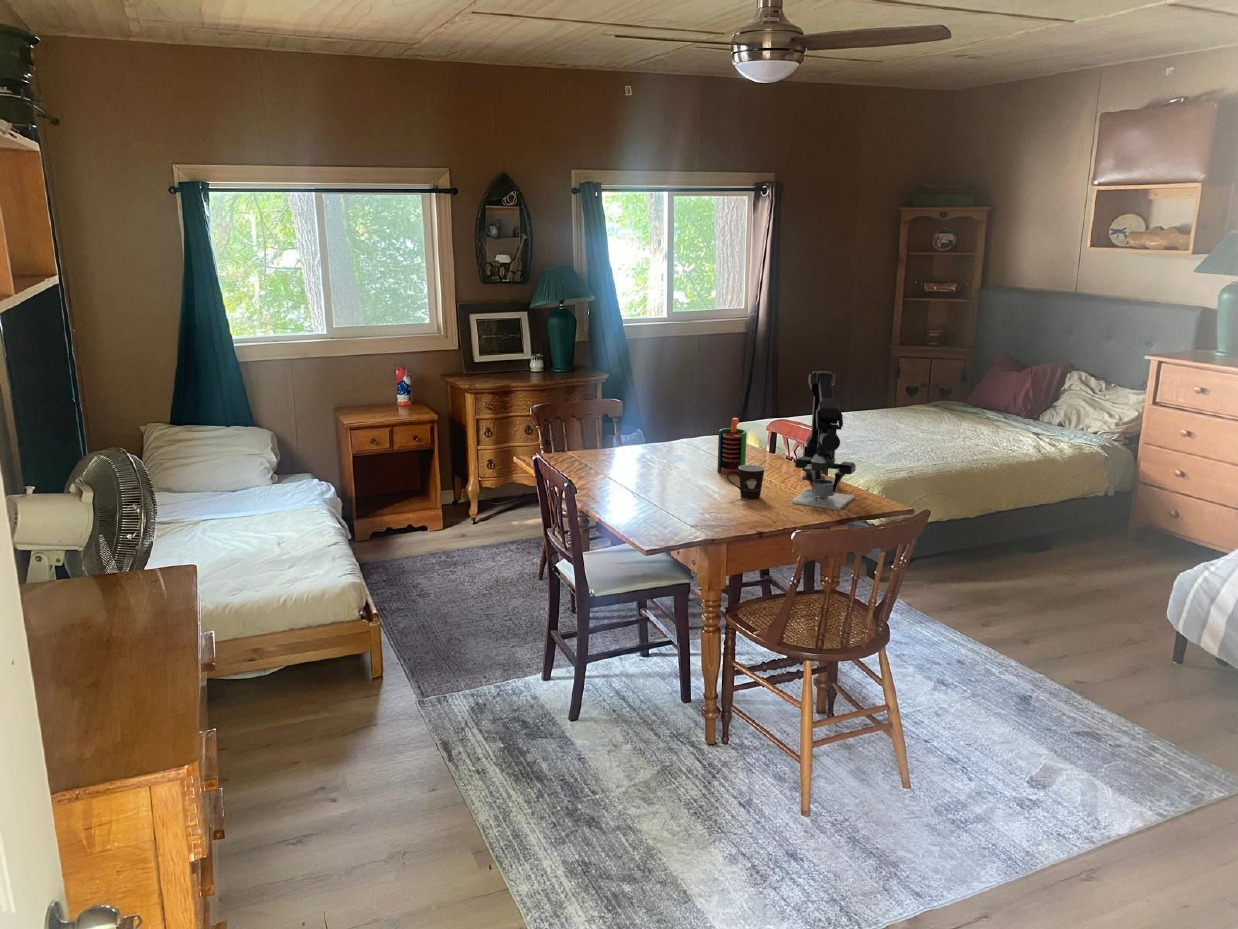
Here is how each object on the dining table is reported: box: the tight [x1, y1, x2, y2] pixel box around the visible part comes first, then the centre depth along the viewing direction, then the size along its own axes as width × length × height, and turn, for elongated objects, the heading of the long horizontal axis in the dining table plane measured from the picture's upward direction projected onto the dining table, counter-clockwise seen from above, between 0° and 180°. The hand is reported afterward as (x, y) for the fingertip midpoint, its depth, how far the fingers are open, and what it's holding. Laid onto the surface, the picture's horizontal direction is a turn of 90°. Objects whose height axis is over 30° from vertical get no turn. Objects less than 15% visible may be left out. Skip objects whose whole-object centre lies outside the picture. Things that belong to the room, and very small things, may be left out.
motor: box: [717, 417, 748, 476], centre depth 345 cm, size 10×9×20 cm
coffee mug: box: [726, 464, 766, 500], centre depth 315 cm, size 12×9×10 cm
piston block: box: [791, 488, 855, 511], centre depth 311 cm, size 16×16×5 cm
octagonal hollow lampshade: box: [811, 478, 836, 497], centre depth 310 cm, size 7×7×4 cm
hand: (823, 490), depth 311 cm, fingers closed on octagonal hollow lampshade, 7 cm apart
